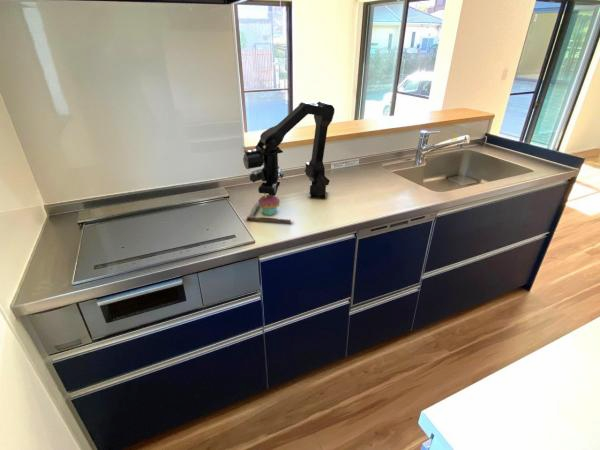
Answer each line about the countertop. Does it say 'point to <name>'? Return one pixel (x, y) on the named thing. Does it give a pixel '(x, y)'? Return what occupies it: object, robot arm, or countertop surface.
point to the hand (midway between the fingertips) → (272, 200)
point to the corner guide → (262, 219)
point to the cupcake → (269, 204)
